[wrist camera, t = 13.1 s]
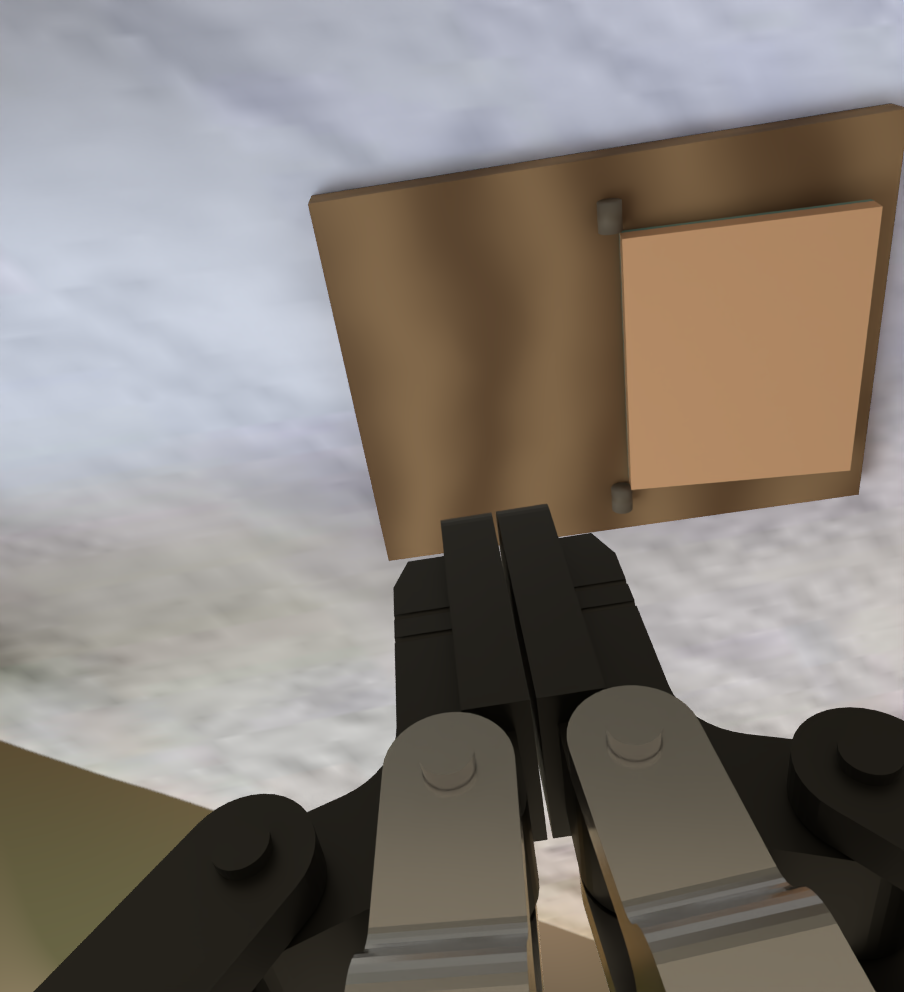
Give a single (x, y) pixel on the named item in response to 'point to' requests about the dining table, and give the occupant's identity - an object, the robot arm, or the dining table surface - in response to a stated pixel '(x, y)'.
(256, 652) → the dining table surface
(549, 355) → the board
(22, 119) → the dining table surface
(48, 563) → the dining table surface
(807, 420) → the tile
